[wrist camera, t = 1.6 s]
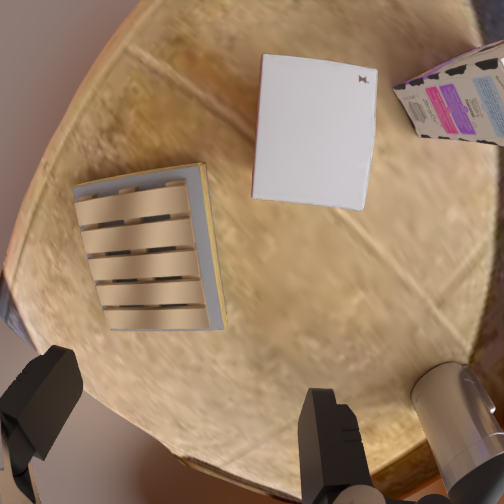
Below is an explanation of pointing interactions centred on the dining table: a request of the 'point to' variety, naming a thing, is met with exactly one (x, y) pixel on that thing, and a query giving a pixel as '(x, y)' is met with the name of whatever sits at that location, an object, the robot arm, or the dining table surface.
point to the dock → (199, 212)
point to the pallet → (145, 258)
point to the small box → (314, 132)
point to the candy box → (459, 97)
